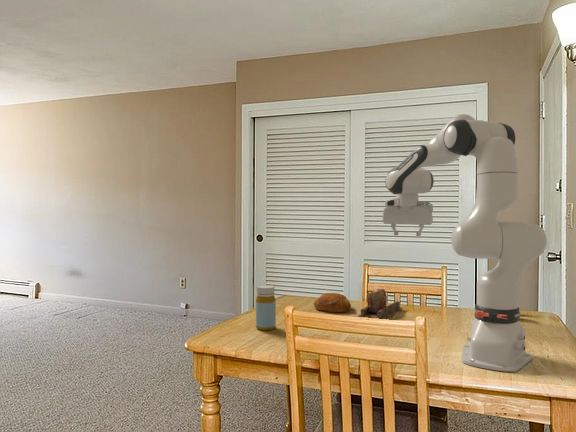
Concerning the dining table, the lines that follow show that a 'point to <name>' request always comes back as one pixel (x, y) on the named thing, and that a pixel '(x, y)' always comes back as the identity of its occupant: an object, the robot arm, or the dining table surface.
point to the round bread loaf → (332, 303)
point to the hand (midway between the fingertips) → (407, 235)
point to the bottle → (265, 308)
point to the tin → (377, 300)
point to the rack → (382, 311)
